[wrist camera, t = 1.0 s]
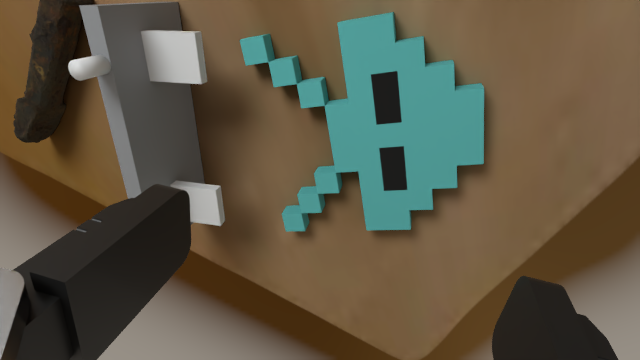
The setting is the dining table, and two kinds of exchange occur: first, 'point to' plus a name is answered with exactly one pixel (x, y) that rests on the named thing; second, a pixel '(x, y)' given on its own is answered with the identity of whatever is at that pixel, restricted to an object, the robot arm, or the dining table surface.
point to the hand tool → (48, 68)
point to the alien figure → (384, 122)
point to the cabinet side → (150, 97)
